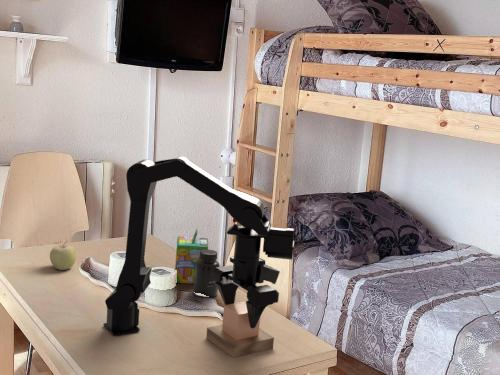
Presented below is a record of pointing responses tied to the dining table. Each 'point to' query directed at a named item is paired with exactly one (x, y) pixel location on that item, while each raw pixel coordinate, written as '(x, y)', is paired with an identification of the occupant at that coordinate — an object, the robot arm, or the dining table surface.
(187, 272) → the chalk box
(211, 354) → the dining table surface
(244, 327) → the terracotta cube
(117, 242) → the dining table surface
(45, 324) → the dining table surface
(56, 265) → the fruit
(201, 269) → the supplement bottle
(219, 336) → the walnut base
